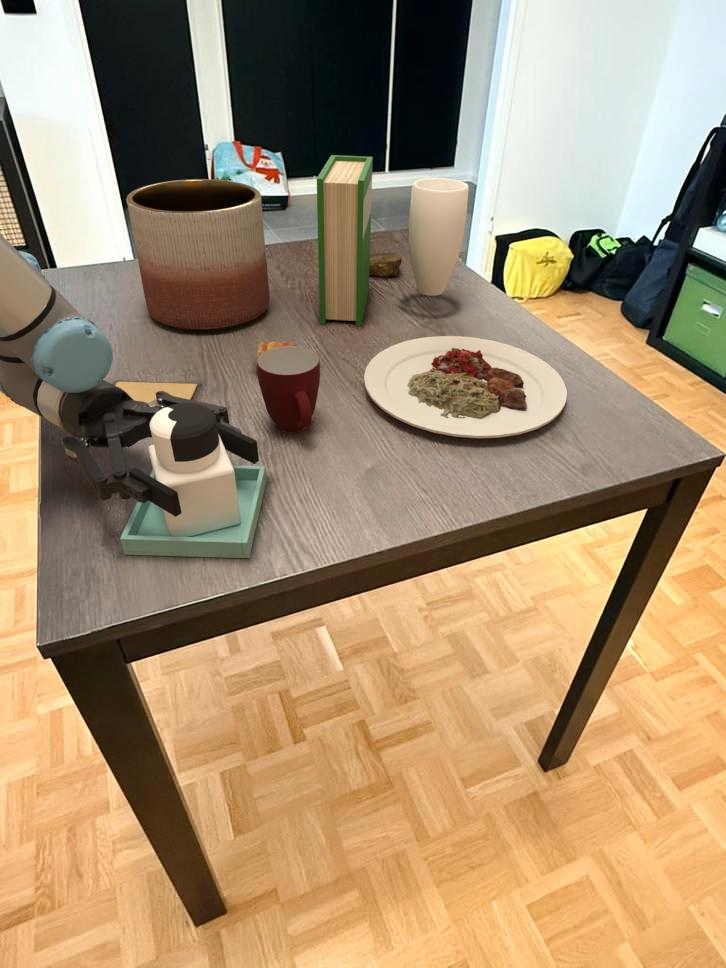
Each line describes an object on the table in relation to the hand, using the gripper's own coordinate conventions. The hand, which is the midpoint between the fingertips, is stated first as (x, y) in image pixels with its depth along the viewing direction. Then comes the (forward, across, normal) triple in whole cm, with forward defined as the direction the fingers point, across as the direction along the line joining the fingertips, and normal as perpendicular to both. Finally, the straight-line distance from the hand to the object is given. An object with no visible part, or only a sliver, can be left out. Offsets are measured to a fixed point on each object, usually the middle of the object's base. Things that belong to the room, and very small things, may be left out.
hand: (218, 477), depth 64 cm
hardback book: (-28, -58, -8) cm, 65 cm away
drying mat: (-29, -12, -8) cm, 32 cm away
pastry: (-21, -32, -8) cm, 39 cm away
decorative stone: (-34, -78, -8) cm, 85 cm away
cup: (-15, -68, -8) cm, 70 cm away
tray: (-4, 0, -8) cm, 9 cm away
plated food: (+6, -44, -8) cm, 45 cm away
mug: (-7, -20, -8) cm, 22 cm away
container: (-4, 0, -7) cm, 8 cm away
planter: (-46, -40, -8) cm, 62 cm away
